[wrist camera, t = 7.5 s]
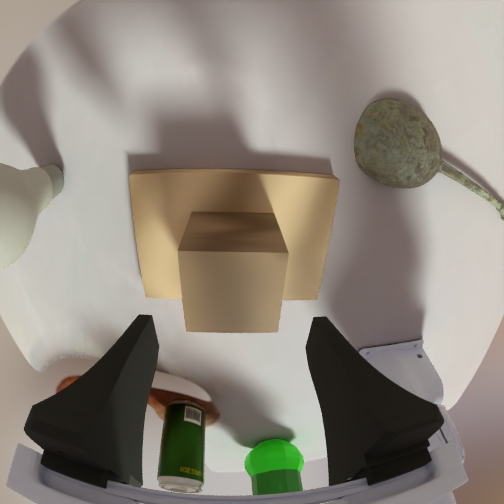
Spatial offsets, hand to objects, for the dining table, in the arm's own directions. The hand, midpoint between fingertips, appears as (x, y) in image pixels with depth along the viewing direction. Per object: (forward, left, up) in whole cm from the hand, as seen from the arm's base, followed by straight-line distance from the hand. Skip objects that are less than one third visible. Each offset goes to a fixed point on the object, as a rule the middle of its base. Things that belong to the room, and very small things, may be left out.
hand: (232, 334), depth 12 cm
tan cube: (0, 0, -9) cm, 9 cm away
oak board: (0, 0, -10) cm, 10 cm away
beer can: (+6, +25, -10) cm, 28 cm away
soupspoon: (-19, -7, -11) cm, 23 cm away
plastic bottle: (-7, +39, -10) cm, 41 cm away
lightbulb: (+14, -5, -10) cm, 18 cm away
